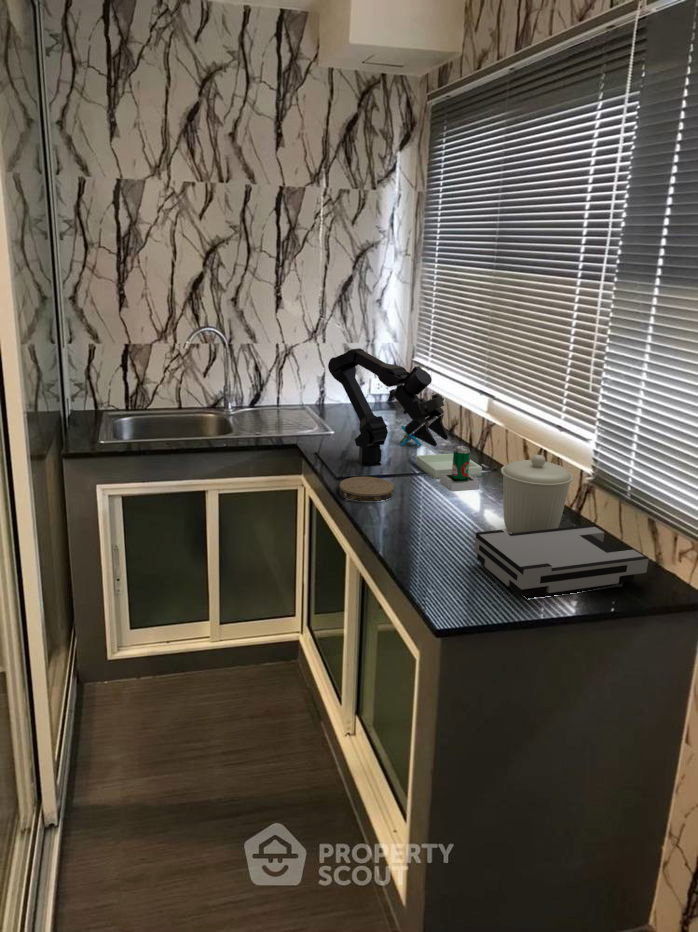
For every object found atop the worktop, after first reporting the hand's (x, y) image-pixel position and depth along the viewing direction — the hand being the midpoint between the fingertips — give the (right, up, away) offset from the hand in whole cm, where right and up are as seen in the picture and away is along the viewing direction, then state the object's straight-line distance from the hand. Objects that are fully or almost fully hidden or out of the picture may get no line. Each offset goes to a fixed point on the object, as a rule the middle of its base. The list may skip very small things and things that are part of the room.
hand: (441, 442), depth 234 cm
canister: (+19, -25, -34) cm, 46 cm away
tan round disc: (-23, -16, -9) cm, 30 cm away
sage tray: (+4, -9, +15) cm, 18 cm away
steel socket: (+5, -13, +1) cm, 14 cm away
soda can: (+5, -13, +1) cm, 14 cm away
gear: (-6, 0, +42) cm, 43 cm away
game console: (+19, -33, -58) cm, 69 cm away
